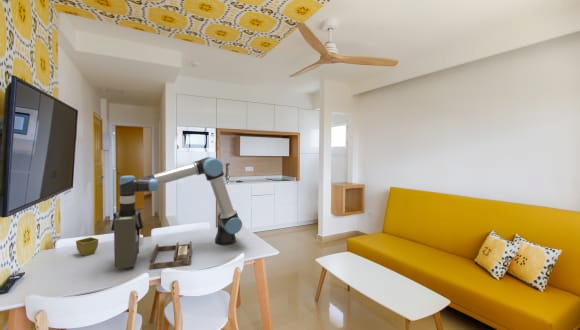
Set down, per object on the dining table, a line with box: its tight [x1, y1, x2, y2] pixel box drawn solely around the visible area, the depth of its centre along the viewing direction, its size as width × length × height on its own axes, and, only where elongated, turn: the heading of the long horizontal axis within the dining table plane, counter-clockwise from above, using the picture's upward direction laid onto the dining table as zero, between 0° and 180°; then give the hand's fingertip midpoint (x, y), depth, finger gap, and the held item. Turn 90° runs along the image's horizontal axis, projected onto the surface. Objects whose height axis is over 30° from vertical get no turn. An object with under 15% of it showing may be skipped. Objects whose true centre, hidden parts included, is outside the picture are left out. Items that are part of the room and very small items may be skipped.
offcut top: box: [177, 245, 188, 259], centre depth 165 cm, size 5×16×2 cm, turn 20°
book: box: [113, 208, 140, 270], centre depth 155 cm, size 22×9×28 cm, turn 23°
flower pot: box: [75, 236, 99, 256], centre depth 168 cm, size 9×9×9 cm
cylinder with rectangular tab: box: [139, 233, 144, 248], centre depth 186 cm, size 9×9×12 cm
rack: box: [149, 241, 192, 270], centre depth 163 cm, size 21×28×6 cm
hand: (127, 241), depth 155 cm, fingers closed on book, 8 cm apart
